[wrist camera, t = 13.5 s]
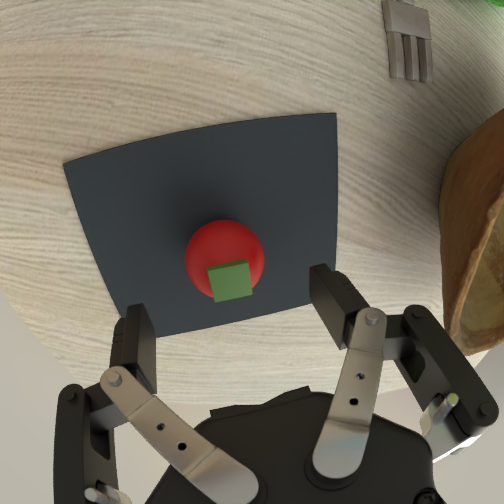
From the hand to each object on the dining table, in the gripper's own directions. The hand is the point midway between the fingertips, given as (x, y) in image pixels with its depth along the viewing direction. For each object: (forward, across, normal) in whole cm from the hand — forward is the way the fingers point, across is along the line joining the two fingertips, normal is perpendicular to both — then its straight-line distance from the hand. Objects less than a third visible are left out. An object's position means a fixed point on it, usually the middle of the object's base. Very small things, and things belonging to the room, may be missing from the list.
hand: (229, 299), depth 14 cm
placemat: (+6, 0, 0) cm, 6 cm away
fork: (+6, -14, -20) cm, 25 cm away
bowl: (+6, -22, -1) cm, 23 cm away
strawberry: (+6, 0, 0) cm, 6 cm away
